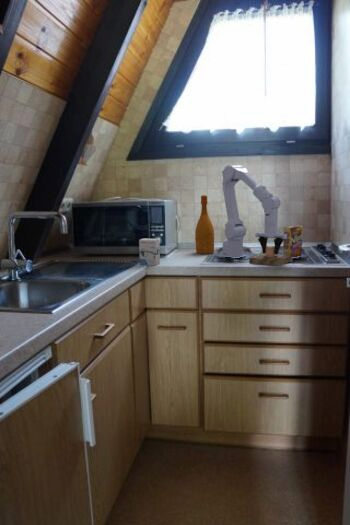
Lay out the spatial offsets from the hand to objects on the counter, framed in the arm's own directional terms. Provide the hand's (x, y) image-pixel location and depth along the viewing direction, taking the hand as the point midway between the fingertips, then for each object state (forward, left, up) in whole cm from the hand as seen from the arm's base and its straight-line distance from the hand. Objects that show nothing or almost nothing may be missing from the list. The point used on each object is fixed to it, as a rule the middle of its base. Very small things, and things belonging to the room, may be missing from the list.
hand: (270, 253), depth 194 cm
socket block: (0, 0, -4) cm, 4 cm away
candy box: (+5, +13, -4) cm, 15 cm away
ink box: (-46, -31, -4) cm, 56 cm away
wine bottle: (-40, +6, -4) cm, 41 cm away
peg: (0, 0, -4) cm, 4 cm away
